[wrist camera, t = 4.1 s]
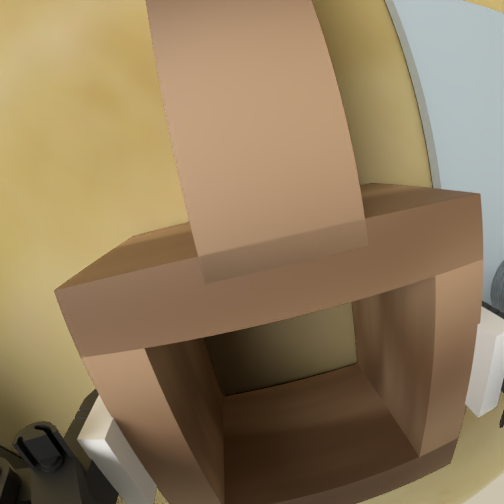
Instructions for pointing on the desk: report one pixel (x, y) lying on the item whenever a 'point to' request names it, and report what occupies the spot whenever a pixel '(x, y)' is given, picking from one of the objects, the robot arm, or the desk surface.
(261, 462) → the link
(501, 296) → the cylinder
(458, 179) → the board
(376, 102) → the desk surface
